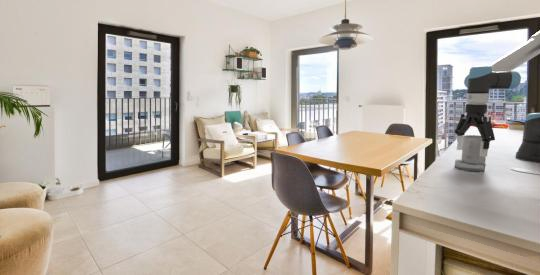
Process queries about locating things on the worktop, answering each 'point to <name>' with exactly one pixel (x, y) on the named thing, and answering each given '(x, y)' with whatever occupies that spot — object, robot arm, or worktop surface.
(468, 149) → the mug
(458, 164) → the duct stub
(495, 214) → the worktop surface
